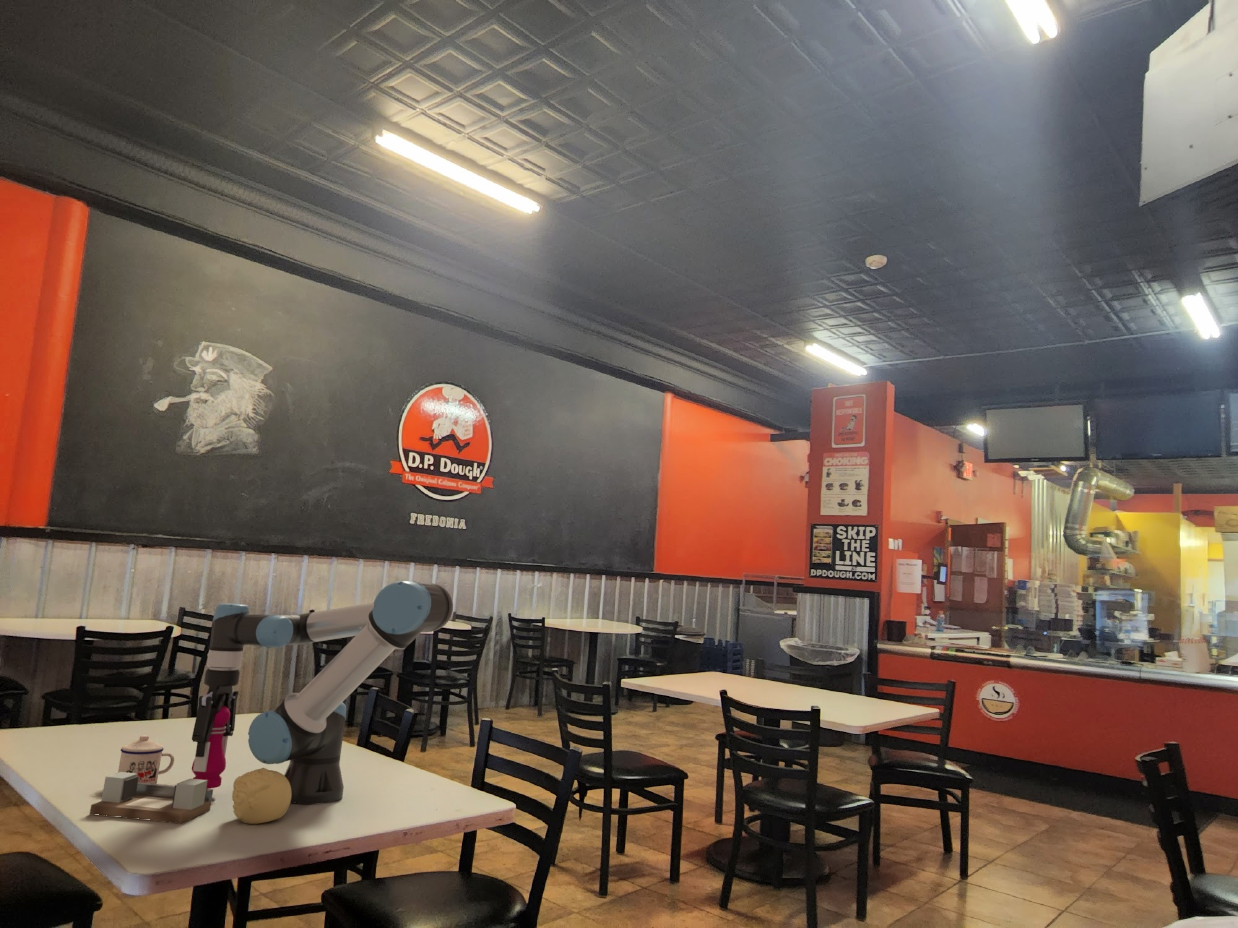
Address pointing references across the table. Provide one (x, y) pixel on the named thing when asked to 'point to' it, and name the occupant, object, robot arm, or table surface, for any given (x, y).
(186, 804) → the block
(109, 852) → the table surface
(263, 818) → the sculpture
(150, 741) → the teacup with lid
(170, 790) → the steel rail bar
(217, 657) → the robot arm
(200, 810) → the wooden frame tray
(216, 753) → the pepper mill
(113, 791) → the finger block
